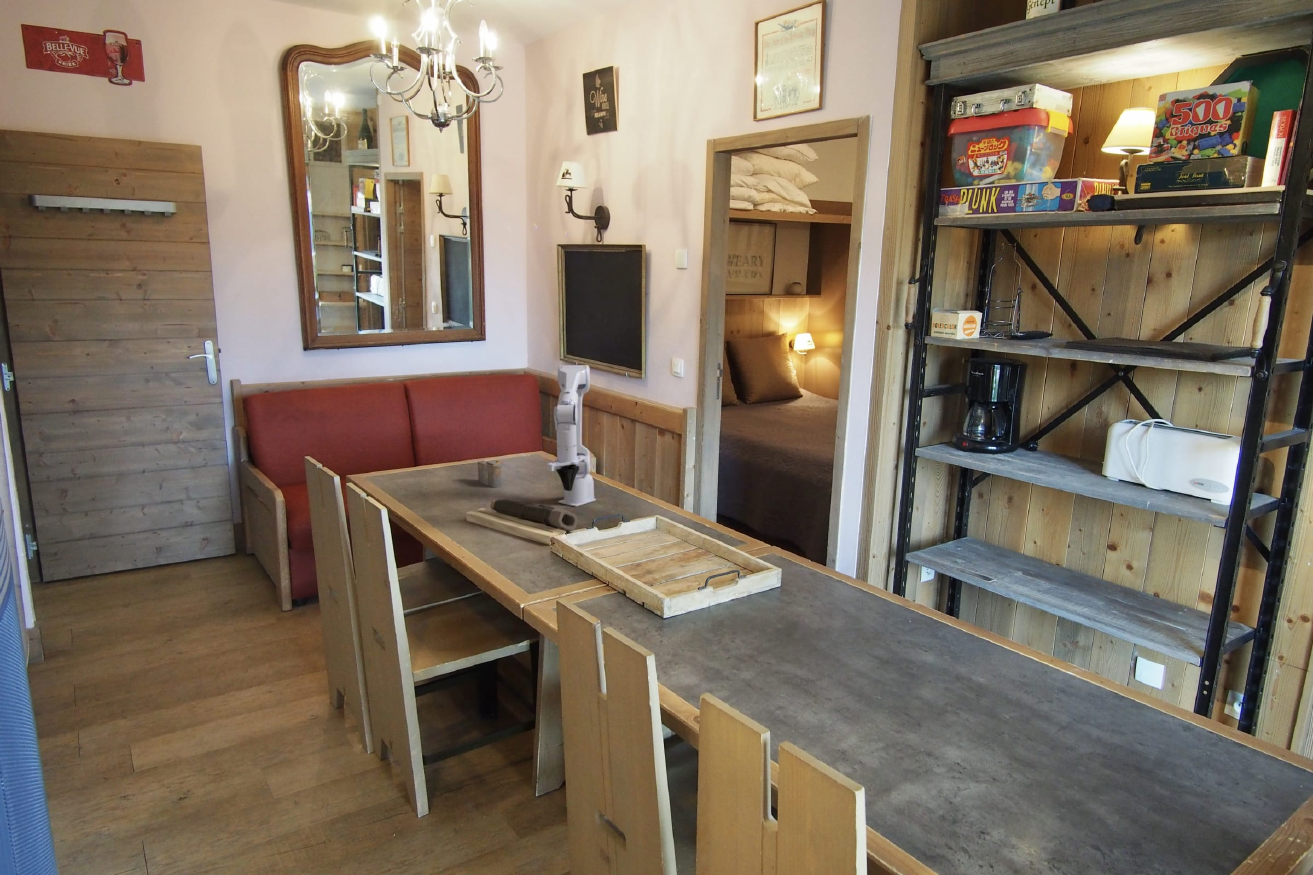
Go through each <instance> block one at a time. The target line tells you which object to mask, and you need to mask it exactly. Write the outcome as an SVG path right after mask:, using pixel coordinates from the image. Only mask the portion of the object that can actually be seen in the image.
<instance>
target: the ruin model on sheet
mask: <svg viewBox="0 0 1313 875" xmlns="http://www.w3.org/2000/svg"><path fill="white" fill-rule="evenodd" d="M485 462H486V463H485ZM501 462H502V460H501V459H500V460H499V459H496V460H495V463H493V462H489V461H485V460H480V461H477V475H478V482H479V483H480V484H484V485H486V486H489V487H491V488H494V489H496V488H497V489H498V488H501V487H502V469H501V468H502V467H501V466H500V465H499V464H500V463H501Z"/></svg>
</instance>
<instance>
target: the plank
mask: <svg viewBox="0 0 1313 875" xmlns="http://www.w3.org/2000/svg"><path fill="white" fill-rule="evenodd" d="M465 513H466V514H465V515H466V522H470V523H474V524H477V525H481V526H484V527H488V528H491V529H494V530H497V531H501V532H505V533H508V534H511V535H513V536H514V535H515V536H517V537H521V538H523V539H528V540H530V541H534V542H537V543H541V544H544V545H548V546H552V545H551V542H550V538H551V537H553V536H557V535H560V534H565V533H566V534H567V530H562V529H559V528H557V529H556V528H553V527H549V526H545V525H544V524H539V523H535V522H531V521H527V520H523V519H518V518H517V517H513V516H509V515H506V514H502V513H498V512H496V511H494V510H492V509H487V508H483V507H481V508H477V509H473V510H470V511H467V512H465Z"/></svg>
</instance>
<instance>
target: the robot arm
mask: <svg viewBox="0 0 1313 875" xmlns="http://www.w3.org/2000/svg"><path fill="white" fill-rule="evenodd" d="M557 383H558V386H559V389H560V393H559V395H558V401H557V406H554V410H553V419H554V420H553V421H554V426H555V427H554V428H555V431H556V449H557V450H556V451H557V453H556V454H557V459H555V460H553V461H552V462H549V463H547V464H546V471H548V472H555V471H556V473H557V474H558V477H559V479H560V481H561V484H562V486H563V487H562V488H563V494H564V495H563V496H564V497H563V499H562V500H558V503H560V504H563V505H568V506H571V507H579V506H582V505H585V504H589V503H593V502H595V501H596V500H597V499H596V498H595V486H594V478H593V476H592V475H591V474H590V473H591V470H592V469H591V467H592V466H591V465H592V464H591V461H592V460H591V452H590V449H589V448H586V447H585V446H584V445H583V442H582V440H583V438H582V434H583V430H582V429H583V398H584V395H585V394H586V393H588V392H589V391H590V389H591V388H590V387H591V386H590V385H591V370H590V366H589V365H588V364H584V365H582V364H581V365H580V364H579V365H578V364H577V365H573V364H572V365H571V364H570V365H569V364H568V365H562V364H560V365H558V367H557Z"/></svg>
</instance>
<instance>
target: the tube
mask: <svg viewBox="0 0 1313 875" xmlns="http://www.w3.org/2000/svg"><path fill="white" fill-rule="evenodd" d="M489 508H490V510H491V511H495V512H498V513H502V514H506V515H509V516H513V517H517V518H518V519H523V520H527V521H531V522H535V523H538V524H542V525H545V526H549V527H553V528H556V529H560V530H563V531H566V532H571V531H574V530H576V528H577V525H578V522H579V519H578V516H577V514H575V513H573V512H571V511H569V510H567V509H563V508H559V507H554V506H551V505H543V504H539V505H536V504H535V503H534V504H533V503H532V502H529V501H521V502H520V501H516V500H510V499H494V500H492V501H491V502H490V506H489Z"/></svg>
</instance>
